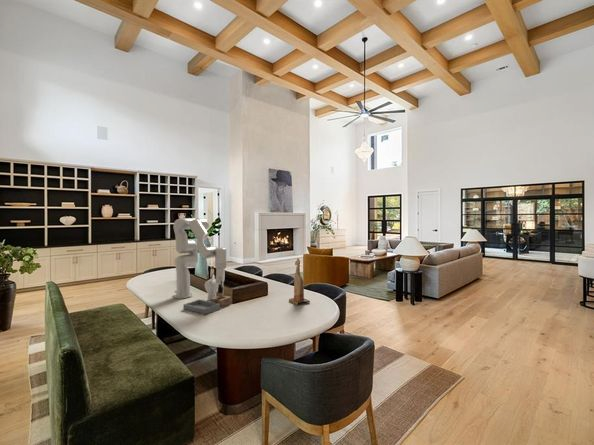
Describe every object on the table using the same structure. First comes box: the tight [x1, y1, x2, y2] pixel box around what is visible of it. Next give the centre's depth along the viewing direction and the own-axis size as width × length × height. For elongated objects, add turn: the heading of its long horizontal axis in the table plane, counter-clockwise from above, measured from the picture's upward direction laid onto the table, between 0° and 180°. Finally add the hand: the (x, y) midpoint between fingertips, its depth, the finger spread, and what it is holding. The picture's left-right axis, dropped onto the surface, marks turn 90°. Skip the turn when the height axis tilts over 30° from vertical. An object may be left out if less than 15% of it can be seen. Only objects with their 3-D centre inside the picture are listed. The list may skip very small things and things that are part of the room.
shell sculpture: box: [204, 274, 218, 302], centre depth 213 cm, size 8×8×18 cm
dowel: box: [217, 281, 225, 299], centre depth 201 cm, size 4×4×14 cm
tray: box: [183, 299, 221, 316], centre depth 192 cm, size 20×13×4 cm, turn 59°
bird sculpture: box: [288, 257, 311, 307], centre depth 206 cm, size 11×12×32 cm
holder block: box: [210, 295, 233, 309], centre depth 201 cm, size 10×10×5 cm
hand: (220, 291), depth 201 cm, fingers closed on dowel, 3 cm apart
